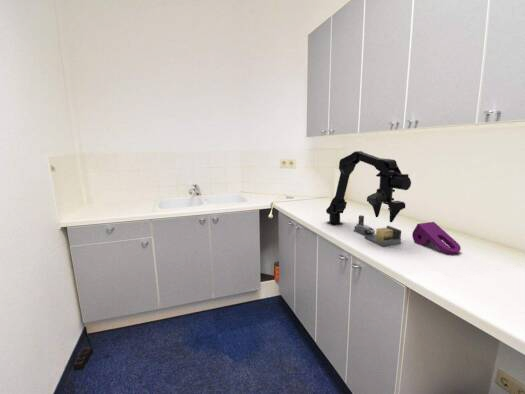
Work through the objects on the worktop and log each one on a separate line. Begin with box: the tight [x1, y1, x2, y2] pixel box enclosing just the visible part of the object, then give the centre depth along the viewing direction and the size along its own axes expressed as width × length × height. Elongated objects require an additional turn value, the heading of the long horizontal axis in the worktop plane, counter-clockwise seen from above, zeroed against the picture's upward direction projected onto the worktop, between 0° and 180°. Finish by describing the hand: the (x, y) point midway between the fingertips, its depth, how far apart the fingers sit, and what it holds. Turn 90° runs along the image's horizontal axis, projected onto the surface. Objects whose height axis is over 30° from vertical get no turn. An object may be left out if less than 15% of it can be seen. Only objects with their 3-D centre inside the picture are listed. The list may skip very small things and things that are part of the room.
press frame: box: [352, 225, 402, 248], centre depth 134 cm, size 24×12×6 cm, turn 18°
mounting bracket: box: [412, 221, 462, 256], centre depth 120 cm, size 10×8×18 cm
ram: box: [355, 215, 376, 234], centre depth 139 cm, size 12×3×7 cm, turn 18°
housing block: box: [375, 227, 393, 241], centre depth 127 cm, size 5×5×5 cm
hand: (383, 219), depth 126 cm, fingers open, 9 cm apart
